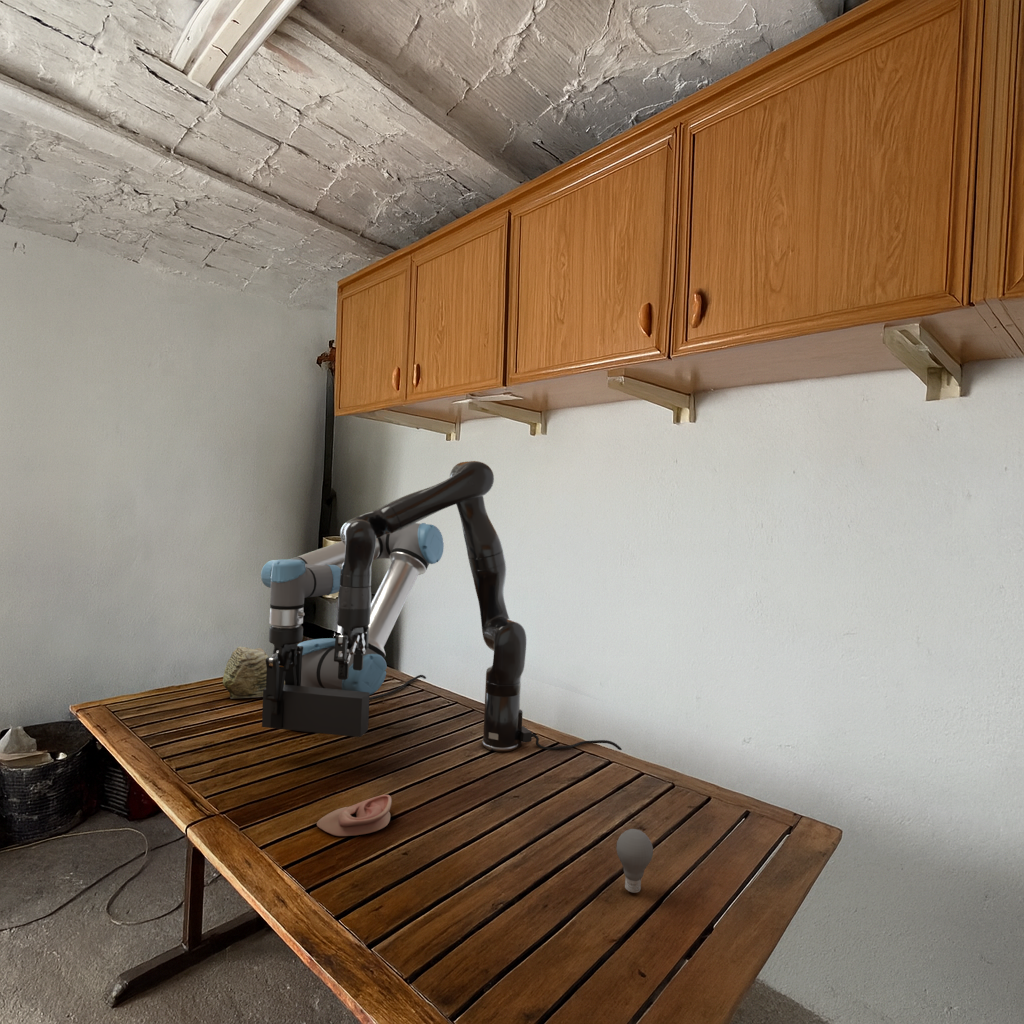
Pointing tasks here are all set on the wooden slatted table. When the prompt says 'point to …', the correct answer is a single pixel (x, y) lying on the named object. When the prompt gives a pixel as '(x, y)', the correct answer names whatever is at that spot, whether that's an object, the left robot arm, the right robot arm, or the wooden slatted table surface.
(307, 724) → the bar
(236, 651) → the fossil
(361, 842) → the wooden slatted table surface
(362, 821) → the anatomical model
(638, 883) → the light bulb
